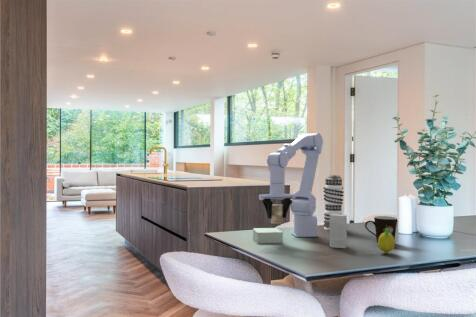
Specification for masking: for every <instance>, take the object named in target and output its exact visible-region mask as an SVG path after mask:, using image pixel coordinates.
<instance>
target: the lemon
mask: <svg viewBox="0 0 476 317" xmlns="http://www.w3.org/2000/svg"><path fill="white" fill-rule="evenodd" d="M395 242H396V240H395V241H394V238H393V236H392V235H391V234H390V233H388V230H387V225H386V230H385V232H384V233H382V234H381V235H380V237H379V239H378V243H377V247H378V249H379V250H380V251H382V252H383V253H385V254H386V255H387V254H388V253H390V252H391V251H393V249H394V248H395V245H396V243H395Z"/></svg>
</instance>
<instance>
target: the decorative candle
mask: <svg viewBox="0 0 476 317" xmlns="http://www.w3.org/2000/svg"><path fill="white" fill-rule="evenodd" d="M324 180H325V185H324V186H323V189H324V190H323V191H322V192H323V193H324V194H323V197H324V198H323V200H324V202H323V204H324V214H323V215H324V216H323V219H324V220H323V223H324V224H323V226H324V227H323V230H327V231H330V215H331V214H341V215H343V210H342V209H343V206H342V205H344V204H343V201H344V199H343V197H344V191H343V189H344V187H343V178H342V177H341V175H338V174H337V175H336V174H334V175H333V174H328V175H327V176H326V177H325V178H324Z"/></svg>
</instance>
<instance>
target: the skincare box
mask: <svg viewBox="0 0 476 317" xmlns="http://www.w3.org/2000/svg"><path fill="white" fill-rule="evenodd" d="M347 220H348V217H347V214H342V215H341V214H331V215H330V230H329V248H335V249H336V248H338V249H347V246H348V241H347V240H348V239H347V238H348V237H347V232H348V230H347V229H348V226H347V224H348V221H347Z"/></svg>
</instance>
